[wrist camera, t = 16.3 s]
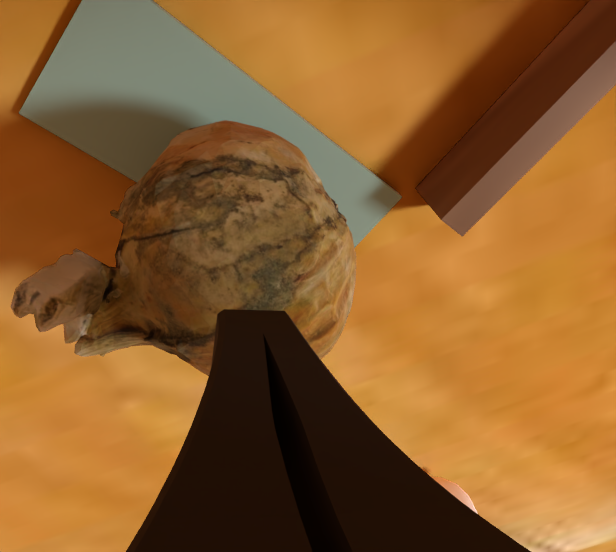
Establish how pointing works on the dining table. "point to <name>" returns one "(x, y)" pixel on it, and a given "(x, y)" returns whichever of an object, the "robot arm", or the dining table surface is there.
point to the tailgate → (175, 101)
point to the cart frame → (526, 119)
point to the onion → (207, 252)
